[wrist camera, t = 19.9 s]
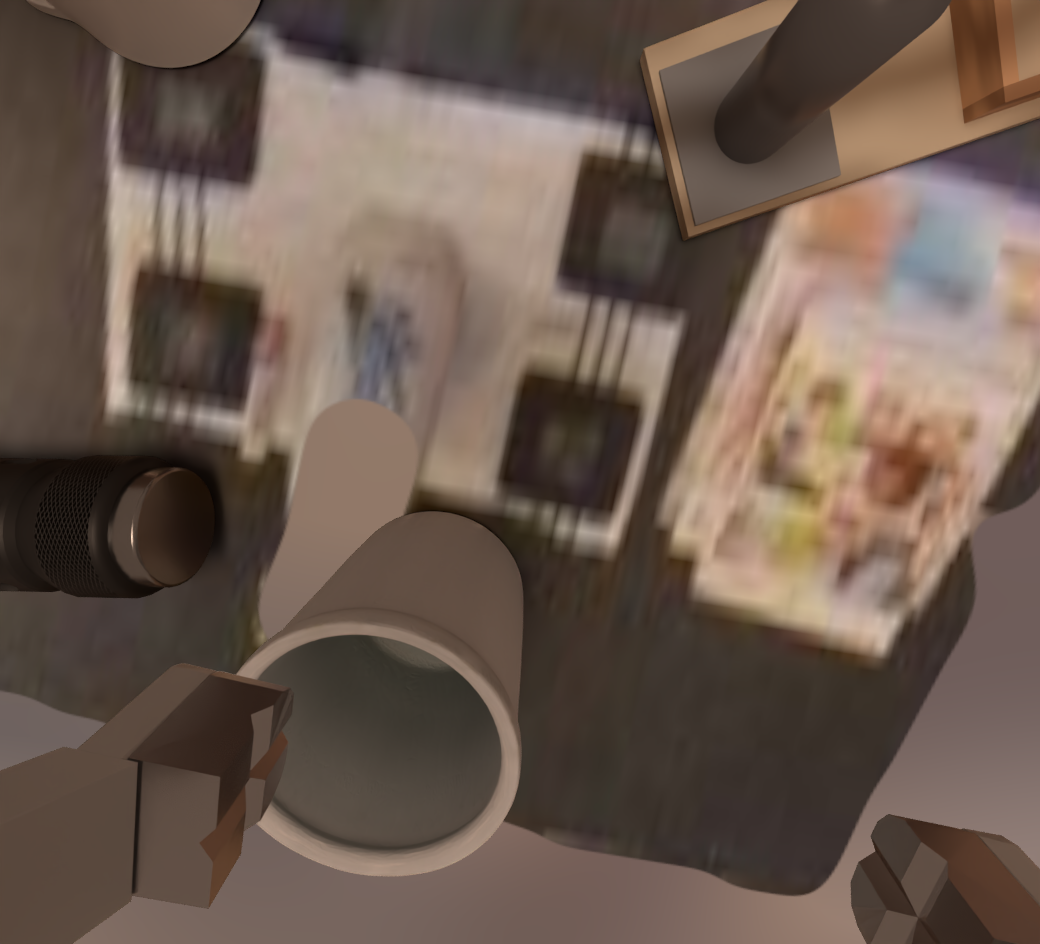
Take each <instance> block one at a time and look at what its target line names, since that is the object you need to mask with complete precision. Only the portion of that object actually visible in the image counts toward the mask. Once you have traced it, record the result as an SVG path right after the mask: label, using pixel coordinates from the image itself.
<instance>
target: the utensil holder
mask: <svg viewBox="0 0 1040 944" xmlns="http://www.w3.org/2000/svg"><path fill="white" fill-rule="evenodd" d="M522 637H523V586H522V580H521V576H520V572H519V569H518V567H517V564H516V562H515V560H514V558H513V557H512V555H511V553H510V552H509V550H508V549H507V548H506V546H505V545H504V544H503V543H502V542H501V541H500V540H499V538H498V537H496V536H495V535H494V534H493V533H492V532H491V531H489V530H488V529H487V528H485V527H484V526H482V525H480V524H479V523H477V522H475V521H473V520H471V519H468V518H466V517H463V516H460V515H456V514H452V513H446V512H439V511H427V512H418V513H412V514H408V515H405V516H402V517H399V518H396V519H394V520H392V521H391V522H389V523H387V524H385V525H384V526H383V527H381V528H380V529H378V530H377V531H376V532H375V533H374V534H373V535H372V536H370V537H369V538H368V539H367V540H366V541H365V542H364V543H363V544H362V545H361V547H360V548H358V549H357V550H356V551H355V552H354V553H353V554H352V556H350V557H349V559H347V561H346V562H345V563H344V564H343V565H342V566H341V567H340V568H339V569H338V570H337V572H335V574H334V575H333V576H332V577H331V578H330V579H329V581H328V582H326V584H325V585H324V586H323V587H322V588H321V589H320V590H319V591H318V592H317V593H316V594H315V595H314V597H313V598H312V599H311V600H310V601H309V602H308V603H307V604H306V605H305V606H304V607H303V608H302V609H301V610H300V611H299V612H298V614H297V615H296V616H295V617H294V618H293V619H292V620H291V621H290V622H289V623H288V624H287V625H286V627H285V628H284V629H283V630H282V631H280V632H278V633H277V634H276V635H274V636H273V637H272V638H270V639H269V640H268V641H266V642H265V643H264V644H263V645H262V646H261V647H259V648H258V649H257V650H256V651H255V652H254V653H253V655H252V656H251V657H250V658H249V659H248V660H247V661H246V662H245V664H244V665H243V666H242V667H241V669H240V670H239V671H238V673H237V674H236V675H239V676H243V677H247V678H252V679H256V680H260V681H264V682H268V683H273V684H277V685H281V686H285V687H290V688H291V689H292V691H293V693H294V699H293V710H292V715H291V717H290V718H289V720H288V721H287V723H286V725H285V726H284V728H283V729H282V732H283V734H284V735H285V737H286V739H287V740H288V742H289V743H288V750H287V757H286V761H285V765H284V769H283V773H282V777H281V779H280V782H279V784H278V787H277V789H276V791H275V794H274V796H273V799H272V801H271V803H270V805H269V806H268V808H267V810H266V812H265V813H264V815H263V817H262V819H261V821H259V822H258V823H256V824H257V825H258V826H260V827H261V828H262V829H263V830H264V831H265V832H266V833H268V834H269V835H270V836H272V837H273V838H274V839H276V840H277V841H278V842H280V843H281V844H283V845H285V846H286V847H288V848H290V849H291V850H293V851H295V852H297V853H299V854H301V855H303V856H305V857H307V858H309V859H311V860H314V861H316V862H318V863H321V864H323V865H326V866H329V867H332V868H335V869H338V870H342V871H346V872H351V873H355V874H362V875H370V876H406V875H414V874H420V873H426V872H430V871H434V870H438V869H441V868H443V867H446V866H448V865H451V864H453V863H455V862H458V861H460V860H461V859H463V858H464V857H466V856H468V855H469V854H471V853H472V852H473V851H475V850H476V849H478V848H479V847H480V846H481V845H482V844H484V843H485V842H486V841H487V840H488V839H489V838H490V837H491V836H492V835H493V833H494V832H495V831H496V830H497V829H498V827H499V826H500V825H501V823H502V822H503V820H504V818H505V817H506V815H507V813H508V811H509V809H510V808H511V806H512V803H513V801H514V798H515V795H516V791H517V788H518V783H519V778H520V770H521V736H520V729H519V724H518V703H519V689H520V673H521V654H522Z"/></svg>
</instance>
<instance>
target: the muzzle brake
mask: <svg viewBox="0 0 1040 944" xmlns="http://www.w3.org/2000/svg"><path fill="white" fill-rule="evenodd" d="M214 529H215V510H214V504H213V500H212V497H211V494H210V491H209V489H208V488H207V486H206V484H205V483H204V481H203V480H202V479H201V478H200V477H199V476H198V475H197V474H195V473H194V472H192V471H190V470H187V469H185V468H177V467H173V466H172V465H171V464H169V463H168V462H166V461H164V460H161V459H159V458H156V457H150V456H113V455H96V456H89V457H84V458H81V459H79V460H76V461H73V460H66V459H15V458H0V591H30V592H55V591H60V590H61V591H63V592H64V593H67V594H70V595H73V596H77V597H102V598H141V597H145V596H149V595H151V594H153V593H155V592H157V591H159V590H161V589H163V588H164V587H169V588H170V587H174V586H178V585H180V584H182V583H184V582H186V581H188V580H189V579H190V578H191V577H193V576H194V575H195V574H196V573H197V571H198V570H199V569H200V568H201V566H202V564H203V563H204V561H205V559H206V557H207V555H208V552H209V550H210V547H211V544H212V540H213V535H214Z"/></svg>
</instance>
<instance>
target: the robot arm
mask: <svg viewBox="0 0 1040 944" xmlns="http://www.w3.org/2000/svg"><path fill="white" fill-rule="evenodd" d="M26 1H27V2H28V3H29V4H31V5H32V6H33V7H35V8H36V9H38V10H40V11H42V12H44V13H47V14H50V15H53V16H56V17H60V18H63V19H67V20H71V21H73V22H75V23H76V24H78V25H80V26H81V27H82V28H84V29H85V30H86V31H88V32H89V33H90V34H91V35H92V36H94V37H95V38H96V39H97V40H99V41H100V42H101V43H102V44H104V45H105V46H107V47H108V48H109V49H111V50H113V51H114V52H116V53H118V54H119V55H121V56H123V57H125V58H128V59H130V60H132V61H135V62H138V63H141V64H145V65H149V66H154V67H162V68H176V67H185V66H190V65H194V64H197V63H200V62H203V61H205V60H207V59H209V58H211V57H213V56H215V55H217V54H218V53H220V52H221V51H223V50H224V49H225V48H227V47H228V46H229V45H230V44H231V43H233V42H234V41H235V40H236V39H237V38H238V36H239V35H240V34H241V33H242V32H243V31H244V29H245V28H246V26H247V25H248V24H249V22H250V20H251V19H252V17H253V15H254V14H255V12H256V10H257V8H258V6H259V3H260V1H261V0H26ZM293 699H294V693H293V691H292V689H291V688H290V687H285V686H281V685H277V684H273V683H268V682H264V681H260V680H256V679H252V678H247V677H243V676H239V675H235V674H230V673H226V672H222V671H218V672H217V671H215V670H211V669H207V668H202V667H198V666H194V665H189V664H185V663H181V664H178V665H175V666H172V667H170V668H169V669H168V670H167V671H165V672H164V673H163V674H162V675H161V676H160V677H159V678H157V679H156V680H155V681H154V682H153V683H152V684H151V685H149V686H148V687H147V688H146V689H145V690H144V691H143V692H141V693H140V694H139V695H138V696H137V697H136V698H135V699H133V700H132V701H131V702H130V703H129V704H128V705H127V706H125V707H124V708H123V709H122V710H121V711H120V712H119V713H118V714H116V715H115V716H114V717H113V718H112V719H111V720H110V721H108V722H107V723H106V724H105V725H104V726H103V727H102V728H100V729H99V730H98V731H97V732H96V733H95V734H94V735H92V736H91V737H90V738H89V739H88V740H87V741H86V742H84V744H82V745H81V746H80V747H79V748H78V749H72V748H67V747H62V748H59V749H57V750H54V751H51V752H49V753H46V754H43V755H41V756H38V757H35V758H33V759H30V760H28V761H25V762H22V763H19V764H17V765H14V766H12V767H9V768H6V769H3V770H1V771H0V944H73V943H74V942H75V941H77V940H78V939H80V938H81V937H82V936H84V935H85V934H86V933H88V932H89V931H90V930H92V929H93V928H95V927H96V926H98V925H99V924H100V923H102V922H103V921H104V920H106V919H107V918H109V917H110V916H111V915H113V914H114V913H115V912H117V911H118V910H120V909H121V908H122V907H124V906H125V905H126V904H128V903H129V902H131V898H132V896H137V897H143V898H148V899H155V900H161V901H166V902H172V903H178V904H184V905H190V906H196V907H201V908H207V909H208V908H209V907H210V905H211V903H212V902H213V900H214V899H215V897H216V895H217V894H218V892H219V890H220V888H221V887H222V885H223V883H224V882H225V880H226V878H227V877H228V875H229V873H230V871H231V869H232V868H233V866H234V865H235V863H236V861H237V860H238V858H239V856H240V854H241V849H242V842H243V833H244V831H245V830H246V829H248V828H250V827H251V826H253V825H254V824H256V823H258V822H259V821H261V819H262V817H263V815H264V813H265V812H266V810H267V808H268V806H269V805H270V803H271V801H272V799H273V796H274V794H275V791H276V789H277V787H278V784H279V782H280V779H281V777H282V773H283V769H284V765H285V761H286V757H287V750H288V743H289V742H288V740H287V739H286V737H285V735H284V734H283V732H282V729H283V728H284V726H285V725H286V723H287V721H288V720H289V718H290V717H291V715H292V710H293ZM871 839H872V842H873V845H874V848H875V852H874V853H872V854H870V855H869V856H867V857H866V858H864V859H863V860H861V861H859V862H858V865H857V867H856V870H855V872H854V875H853V878H852V880H851V904H852V909H853V912H854V916H855V919H856V922H857V926H858V928H859V930H860V932H861V933H862V936H863V937H864V939H865V941H866V943H867V944H1040V869H1039V868H1038V867H1037V866H1036V865H1035V864H1034V862H1033V861H1032V860H1031V859H1030V858H1029V857H1028V856H1027V855H1026V854H1025V853H1024V852H1023V851H1022V850H1021V849H1020V848H1019V846H1017V845H1016V844H1014V843H1012V842H1011V841H1009V840H1008V839H1006V838H1005V837H1003V836H1001V835H996V834H990V833H985V832H979V831H974V830H969V829H957V828H953V827H949V826H944V825H938V824H934V823H929V822H924V821H919V820H914V819H910V818H905V817H900V816H895V815H890V814H888V815H886V816H885V817H884V818H882V819H881V820H879V821H878V822H877V824H876V826H875V828H874V830H873V832H872V834H871Z"/></svg>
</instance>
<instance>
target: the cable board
mask: <svg viewBox="0 0 1040 944" xmlns="http://www.w3.org/2000/svg"><path fill="white" fill-rule="evenodd" d="M797 1H798V0H768V1H765V2H763V3H760V4H758V5H755V6H752V7H750V8H747V9H745V10H742V11H739V12H737V13H734V14H732V15H729V16H727V17H724V18H721V19H719V20H716V21H714V22H711V23H708V24H706V25H703V26H701V27H698V28H696V29H693V30H690V31H688V32H685V33H683V34H680V35H678V36H675V37H672V38H670V39H667V40H665V41H662V42H659V43H657V44H654V45H652V46H649V47H647V48H644V50H643V53H642V55H641V58H640V65H641V69H642V73H643V77H644V81H645V85H646V90H647V94H648V98H649V102H650V106H651V110H652V115H653V119H654V123H655V127H656V131H657V135H658V139H659V144H660V148H661V152H662V156H663V160H664V164H665V169H666V173H667V177H668V181H669V185H670V189H671V193H672V198H673V202H674V206H675V210H676V214H677V218H678V223H679V227H680V231H681V235H682V239H683V241H684V240H687V239H690V238H693V237H696V236H699V235H702V234H705V233H708V232H711V231H713V230H716V229H719V228H722V227H725V226H728V225H731V224H734V223H737V222H740V221H743V220H745V219H748V218H751V217H754V216H757V215H760V214H763V213H766V212H769V211H772V210H775V209H777V208H780V207H783V206H786V205H789V204H792V203H795V202H798V201H801V200H804V199H807V198H809V197H812V196H815V195H818V194H821V193H824V192H827V191H830V190H833V189H836V188H839V187H841V186H844V185H847V184H850V183H853V182H856V181H859V180H862V179H865V178H868V177H870V176H873V175H876V174H879V173H882V172H885V171H888V170H891V169H894V168H897V167H900V166H902V165H905V164H908V163H911V162H914V161H917V160H920V159H923V158H926V157H929V156H932V155H934V154H937V153H940V152H943V151H946V150H949V149H952V148H955V147H958V146H961V145H964V144H966V143H969V142H972V141H975V140H978V139H981V138H984V137H987V136H990V135H993V134H996V133H998V132H1001V131H1004V130H1007V129H1010V128H1013V127H1016V126H1019V125H1022V124H1025V123H1028V122H1030V121H1033V120H1036V119H1039V118H1040V0H951V2H950V4H949V6H948V7H947V9H946V10H945V12H944V13H943V14H942V15H941V16H940V18H939V19H938V20H937V21H936V22H935V23H934V24H933V25H932V26H931V27H929V28H928V29H927V30H926V31H924V32H923V33H922V34H921V35H919V36H918V37H917V38H916V39H914V40H913V41H912V42H911V43H909V44H908V45H907V46H906V47H904V48H903V49H902V50H901V51H900V52H898V53H897V54H896V55H895V56H893V57H892V58H891V59H890V60H888V61H887V62H886V63H885V64H883V65H882V66H881V67H880V68H878V69H877V70H876V71H875V72H874V73H872V74H871V75H870V76H869V77H867V78H866V79H865V80H864V81H862V82H861V83H860V84H859V85H857V86H856V87H855V88H854V89H852V90H851V91H850V92H849V93H848V94H846V95H845V96H844V97H843V98H841V99H840V100H839V101H838V102H836V103H835V104H834V105H833V106H831V107H830V108H829V109H828V110H826V111H825V112H824V113H823V114H821V115H820V116H819V117H818V118H817V119H815V120H814V121H813V122H812V123H810V124H809V125H808V126H807V127H805V128H804V129H803V130H802V131H800V132H799V133H798V134H797V135H795V136H794V137H793V138H792V139H791V140H789V141H788V142H787V143H786V144H784V145H783V146H782V147H781V148H779V149H778V150H777V151H776V152H774V153H773V154H772V155H771V156H769V157H768V158H766V159H765V160H762V161H760V162H757V163H752V164H743V163H738V162H735V161H733V160H731V159H730V158H728V157H727V156H726V155H725V154H724V153H723V152H722V151H721V149H720V147H719V146H718V143H717V141H716V137H715V130H714V125H715V118H716V114H717V111H718V109H719V106H720V105H721V103H722V101H723V100H724V98H725V97H726V96H727V94H728V93H729V92H730V90H731V89H732V88H733V86H734V85H735V84H736V82H737V81H738V80H739V79H740V77H741V76H742V75H743V73H744V72H745V71H746V69H747V68H748V67H749V65H750V64H751V63H752V61H753V60H754V59H755V57H756V56H757V55H758V53H759V52H760V51H761V49H762V48H763V47H764V45H765V44H766V43H767V41H768V40H769V39H770V37H771V36H772V35H773V33H774V32H775V31H776V29H777V28H778V27H779V25H780V24H781V23H782V21H783V20H784V19H785V17H786V16H787V15H788V13H789V12H790V11H791V9H792V8H793V7H794V5H795V4H796V3H797Z"/></svg>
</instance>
